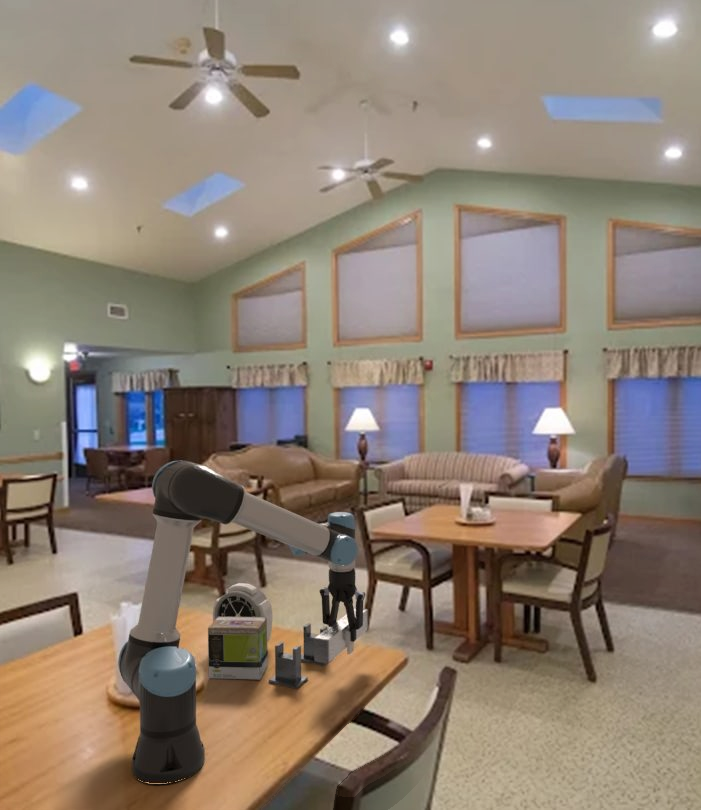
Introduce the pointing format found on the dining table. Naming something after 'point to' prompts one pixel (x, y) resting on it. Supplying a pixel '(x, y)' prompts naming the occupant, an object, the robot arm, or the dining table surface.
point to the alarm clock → (244, 604)
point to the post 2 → (310, 645)
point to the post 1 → (288, 667)
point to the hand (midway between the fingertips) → (342, 650)
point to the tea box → (237, 648)
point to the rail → (336, 638)
